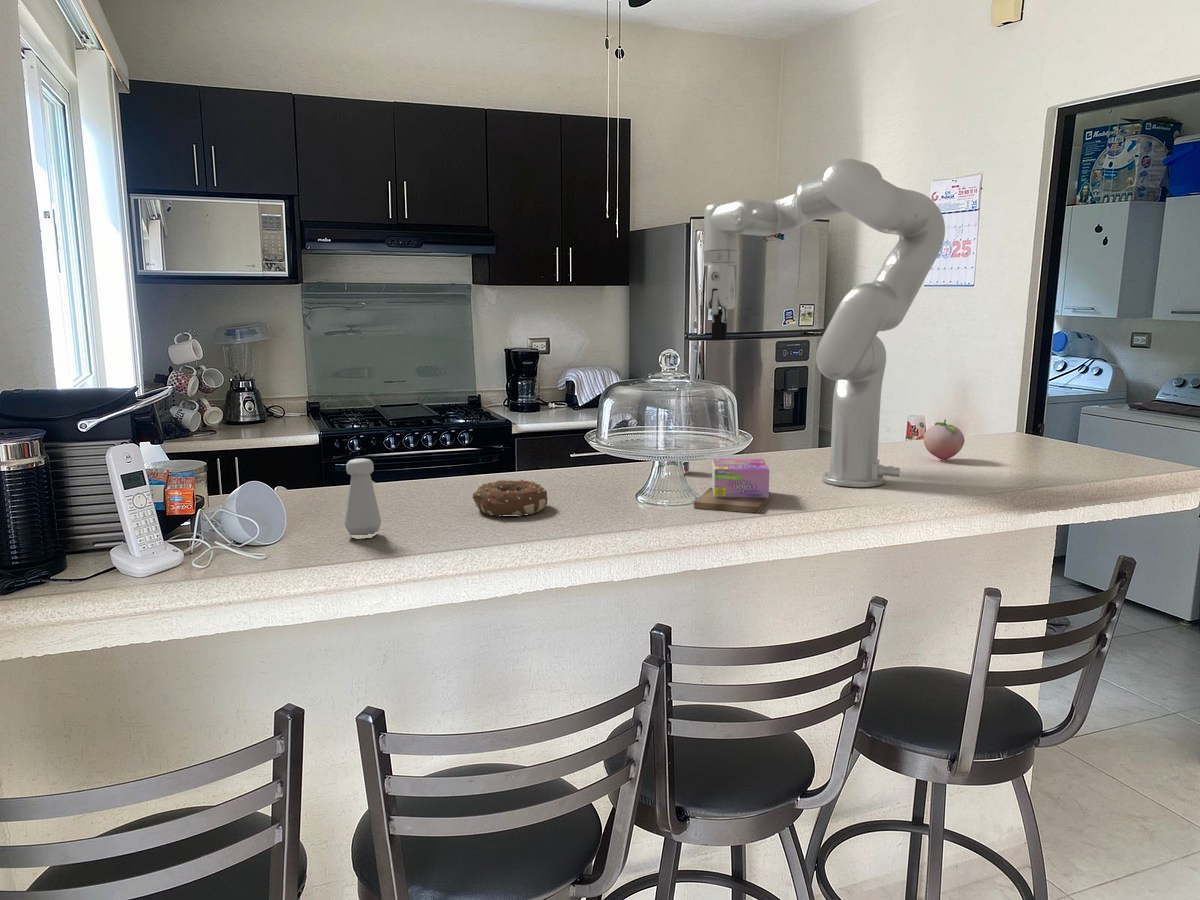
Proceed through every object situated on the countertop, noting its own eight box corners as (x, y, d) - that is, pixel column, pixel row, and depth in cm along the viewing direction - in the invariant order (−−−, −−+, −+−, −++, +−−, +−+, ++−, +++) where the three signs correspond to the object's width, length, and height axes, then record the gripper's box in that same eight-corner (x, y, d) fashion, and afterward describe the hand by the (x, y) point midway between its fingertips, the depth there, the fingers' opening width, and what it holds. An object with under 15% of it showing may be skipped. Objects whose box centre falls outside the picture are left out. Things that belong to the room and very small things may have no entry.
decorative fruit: (914, 458, 206) (916, 417, 204) (943, 456, 208) (946, 416, 207) (939, 465, 197) (941, 422, 196) (969, 463, 199) (972, 421, 198)
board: (770, 497, 166) (770, 491, 166) (758, 513, 154) (758, 506, 154) (710, 493, 171) (710, 487, 170) (693, 508, 159) (694, 501, 158)
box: (764, 457, 171) (769, 469, 159) (763, 485, 172) (768, 499, 160) (712, 457, 172) (713, 469, 160) (711, 484, 173) (713, 498, 162)
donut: (496, 500, 167) (495, 475, 166) (559, 505, 162) (559, 480, 161) (458, 517, 154) (457, 490, 153) (526, 524, 149) (525, 496, 148)
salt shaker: (338, 537, 141) (333, 460, 138) (365, 530, 145) (361, 455, 143) (362, 543, 137) (357, 464, 135) (388, 534, 142) (385, 458, 140)
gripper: (729, 257, 186) (728, 341, 190) (743, 260, 200) (741, 338, 203) (696, 258, 189) (695, 341, 192) (711, 261, 203) (710, 338, 206)
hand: (719, 340), depth 198 cm, fingers closed
